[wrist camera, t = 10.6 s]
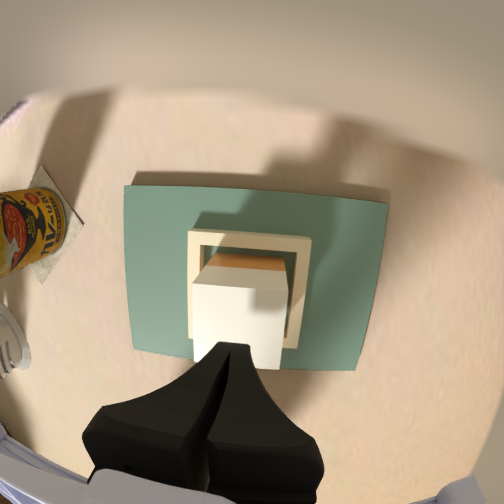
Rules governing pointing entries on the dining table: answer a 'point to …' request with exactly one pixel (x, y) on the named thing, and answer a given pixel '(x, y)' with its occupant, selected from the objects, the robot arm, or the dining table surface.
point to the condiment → (35, 227)
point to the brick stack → (241, 306)
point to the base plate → (260, 244)
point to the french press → (12, 344)
